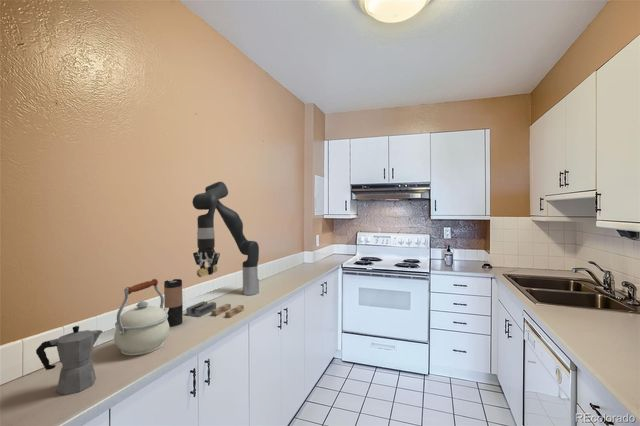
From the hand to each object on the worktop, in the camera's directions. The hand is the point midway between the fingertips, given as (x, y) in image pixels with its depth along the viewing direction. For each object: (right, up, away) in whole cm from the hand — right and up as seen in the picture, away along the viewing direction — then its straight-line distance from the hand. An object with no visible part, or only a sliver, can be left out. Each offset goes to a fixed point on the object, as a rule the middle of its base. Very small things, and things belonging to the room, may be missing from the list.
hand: (206, 274), depth 140 cm
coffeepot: (-21, -24, -51) cm, 60 cm away
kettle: (-15, -23, -23) cm, 36 cm away
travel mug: (-15, -23, 0) cm, 28 cm away
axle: (0, 0, 0) cm, 1 cm away
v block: (-9, -23, +16) cm, 29 cm away
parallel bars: (+6, -23, +14) cm, 27 cm away
